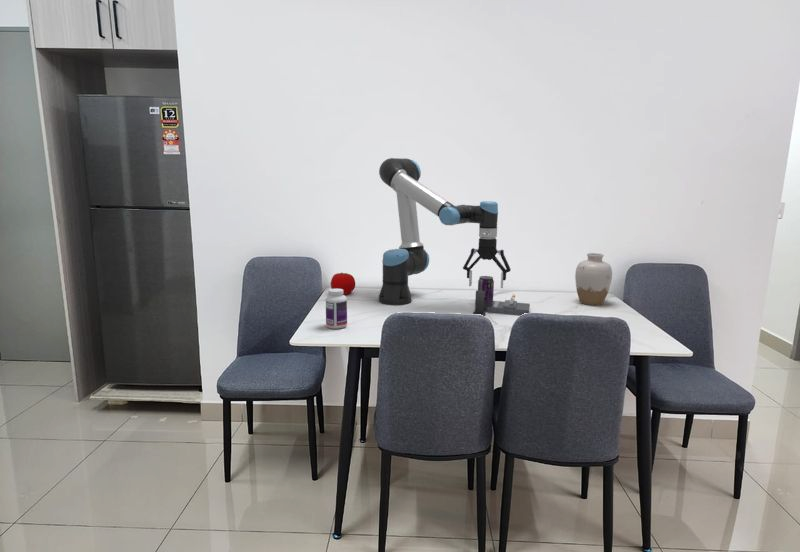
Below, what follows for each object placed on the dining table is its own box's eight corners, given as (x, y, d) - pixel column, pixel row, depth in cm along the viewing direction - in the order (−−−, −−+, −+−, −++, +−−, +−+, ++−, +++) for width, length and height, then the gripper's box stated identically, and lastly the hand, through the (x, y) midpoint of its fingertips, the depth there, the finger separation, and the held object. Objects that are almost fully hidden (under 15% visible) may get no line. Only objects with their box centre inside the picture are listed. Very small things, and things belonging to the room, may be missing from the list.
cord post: (472, 315, 223) (473, 292, 221) (473, 312, 228) (474, 289, 226) (484, 316, 221) (485, 293, 219) (486, 313, 226) (487, 290, 224)
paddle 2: (509, 303, 226) (512, 298, 225) (509, 301, 229) (512, 296, 228) (511, 304, 226) (514, 299, 225) (512, 302, 229) (515, 298, 228)
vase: (577, 297, 258) (581, 250, 253) (612, 301, 250) (616, 253, 245) (569, 304, 244) (573, 254, 240) (605, 309, 236) (610, 258, 232)
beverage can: (492, 305, 240) (493, 279, 238) (476, 304, 242) (477, 278, 239) (493, 301, 247) (494, 276, 245) (477, 300, 248) (478, 275, 246)
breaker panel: (475, 311, 229) (476, 303, 228) (479, 305, 240) (479, 297, 239) (528, 316, 223) (528, 308, 222) (529, 309, 234) (529, 301, 234)
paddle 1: (510, 300, 231) (512, 295, 230) (510, 298, 234) (513, 294, 233) (512, 301, 231) (515, 296, 230) (513, 300, 233) (515, 295, 233)
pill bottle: (347, 323, 208) (347, 287, 206) (346, 329, 201) (346, 292, 198) (327, 323, 208) (326, 287, 205) (324, 329, 200) (324, 292, 197)
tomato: (325, 293, 259) (325, 272, 257) (345, 289, 266) (345, 269, 264) (340, 297, 250) (340, 276, 248) (360, 294, 258) (360, 273, 256)
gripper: (457, 237, 227) (455, 286, 231) (517, 240, 220) (514, 290, 225) (460, 235, 234) (458, 283, 238) (518, 238, 228) (515, 286, 232)
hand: (485, 286), depth 231 cm, fingers open, 13 cm apart
